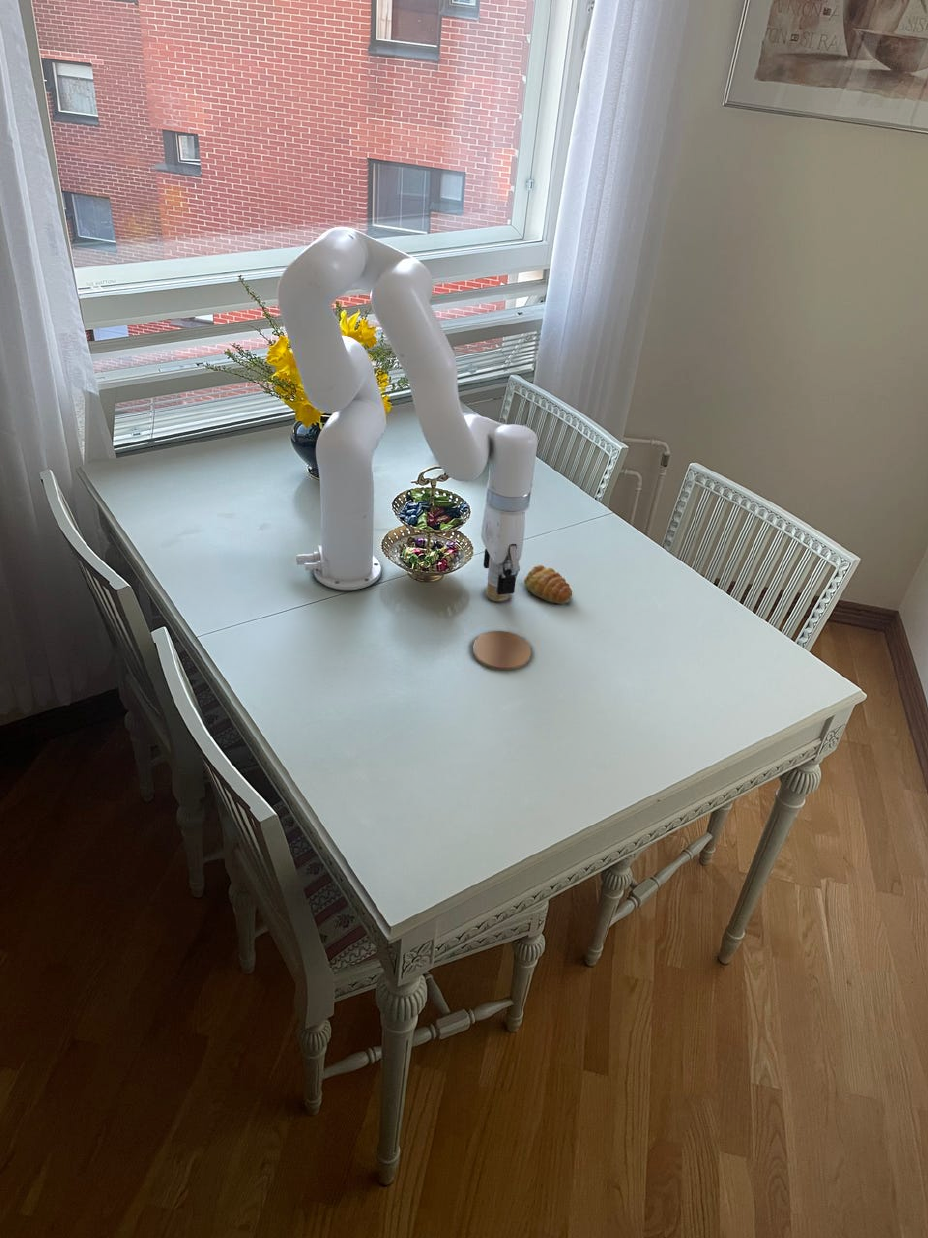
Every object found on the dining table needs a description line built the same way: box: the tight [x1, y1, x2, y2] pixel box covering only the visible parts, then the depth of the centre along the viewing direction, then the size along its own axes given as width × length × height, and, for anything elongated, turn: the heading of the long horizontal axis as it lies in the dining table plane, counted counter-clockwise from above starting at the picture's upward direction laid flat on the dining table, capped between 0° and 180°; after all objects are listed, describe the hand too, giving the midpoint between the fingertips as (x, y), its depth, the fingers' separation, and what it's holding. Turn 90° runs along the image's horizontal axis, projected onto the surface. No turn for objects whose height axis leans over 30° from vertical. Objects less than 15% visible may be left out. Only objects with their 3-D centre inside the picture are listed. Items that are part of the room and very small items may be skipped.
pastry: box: [523, 564, 573, 605], centre depth 174 cm, size 9×7×4 cm
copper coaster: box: [472, 630, 532, 671], centre depth 160 cm, size 10×10×1 cm
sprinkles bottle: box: [485, 556, 511, 602], centre depth 169 cm, size 5×5×13 cm
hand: (498, 579), depth 171 cm, fingers open, 7 cm apart
